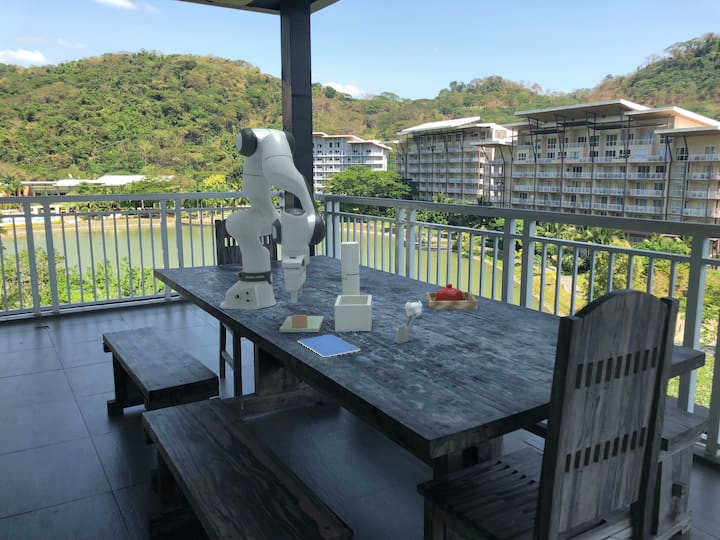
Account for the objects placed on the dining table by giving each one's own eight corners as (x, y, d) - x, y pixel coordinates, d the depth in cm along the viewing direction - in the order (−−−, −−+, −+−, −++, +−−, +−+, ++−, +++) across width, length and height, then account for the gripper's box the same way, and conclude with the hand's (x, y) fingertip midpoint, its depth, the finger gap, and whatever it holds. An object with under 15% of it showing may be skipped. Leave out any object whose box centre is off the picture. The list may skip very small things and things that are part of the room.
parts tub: (335, 331, 183) (334, 305, 182) (339, 319, 199) (338, 295, 197) (371, 331, 183) (370, 305, 181) (372, 319, 198) (371, 294, 197)
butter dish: (429, 305, 219) (429, 284, 218) (444, 300, 228) (444, 280, 226) (454, 309, 212) (454, 287, 210) (469, 303, 220) (469, 283, 219)
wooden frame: (429, 309, 212) (429, 301, 211) (426, 299, 229) (426, 292, 228) (477, 308, 211) (477, 301, 210) (470, 298, 228) (470, 291, 227)
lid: (279, 334, 183) (279, 317, 182) (288, 320, 200) (287, 305, 199) (318, 333, 182) (318, 316, 181) (324, 320, 199) (323, 305, 198)
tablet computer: (361, 353, 162) (361, 348, 162) (323, 360, 156) (323, 356, 156) (331, 337, 179) (331, 333, 179) (296, 344, 173) (296, 339, 172)
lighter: (398, 343, 169) (398, 318, 167) (394, 342, 170) (394, 317, 169) (416, 339, 173) (416, 315, 171) (412, 338, 174) (412, 313, 173)
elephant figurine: (412, 320, 196) (412, 304, 195) (399, 316, 202) (399, 300, 201) (427, 317, 199) (427, 301, 198) (414, 313, 206) (413, 298, 205)
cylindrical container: (358, 306, 219) (356, 243, 215) (340, 305, 221) (339, 243, 217) (361, 302, 226) (360, 241, 222) (344, 301, 228) (343, 241, 223)
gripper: (292, 253, 192) (292, 292, 194) (280, 263, 171) (281, 306, 174) (310, 253, 191) (310, 292, 194) (300, 263, 171) (301, 306, 174)
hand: (296, 299), depth 184 cm, fingers open, 8 cm apart
